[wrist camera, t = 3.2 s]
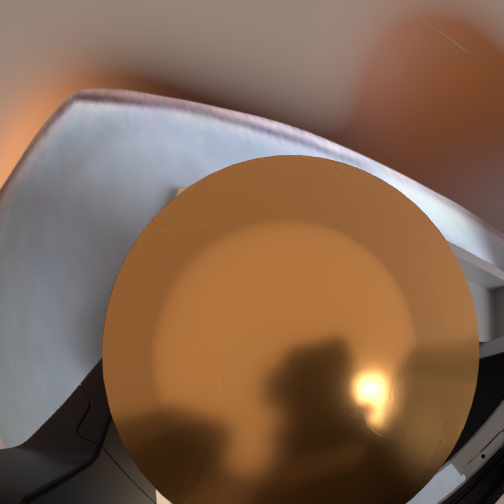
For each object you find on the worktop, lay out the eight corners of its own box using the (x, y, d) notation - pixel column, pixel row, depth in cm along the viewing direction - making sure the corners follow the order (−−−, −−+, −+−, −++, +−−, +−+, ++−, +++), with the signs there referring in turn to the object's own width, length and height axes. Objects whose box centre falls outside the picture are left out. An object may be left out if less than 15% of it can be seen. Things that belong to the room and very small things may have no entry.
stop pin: (261, 417, 14) (444, 512, 2) (168, 395, 13) (64, 493, 2) (281, 331, 16) (470, 225, 4) (193, 307, 15) (197, 116, 4)
